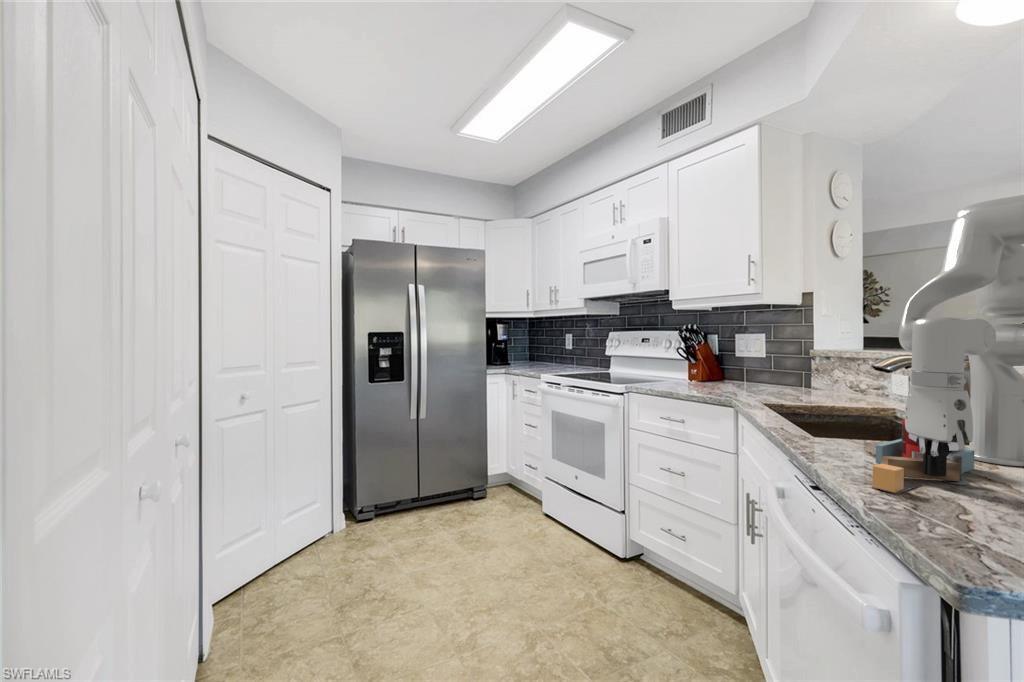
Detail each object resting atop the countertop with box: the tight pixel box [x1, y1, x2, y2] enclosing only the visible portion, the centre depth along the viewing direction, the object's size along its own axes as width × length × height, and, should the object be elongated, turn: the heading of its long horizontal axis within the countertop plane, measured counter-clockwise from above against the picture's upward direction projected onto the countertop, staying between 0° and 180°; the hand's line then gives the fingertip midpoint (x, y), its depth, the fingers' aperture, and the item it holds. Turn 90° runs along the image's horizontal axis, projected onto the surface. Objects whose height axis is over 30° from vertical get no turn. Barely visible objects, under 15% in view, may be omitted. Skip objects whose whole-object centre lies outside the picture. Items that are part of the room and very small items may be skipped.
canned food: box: [901, 413, 942, 458], centre depth 103 cm, size 8×8×11 cm
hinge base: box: [941, 479, 970, 486], centre depth 92 cm, size 4×4×1 cm
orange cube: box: [872, 463, 905, 492], centre depth 87 cm, size 4×4×4 cm
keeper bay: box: [875, 438, 975, 474], centre depth 103 cm, size 13×13×4 cm
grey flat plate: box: [871, 479, 922, 495], centre depth 89 cm, size 10×4×1 cm, turn 119°
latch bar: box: [882, 455, 963, 481], centre depth 93 cm, size 13×2×5 cm, turn 75°
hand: (934, 474), depth 90 cm, fingers closed
